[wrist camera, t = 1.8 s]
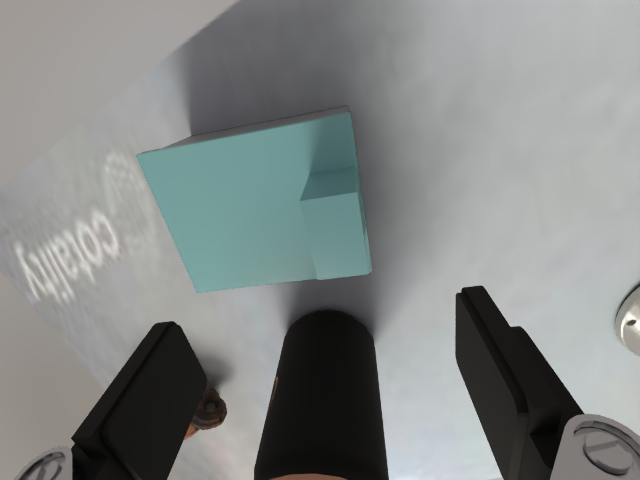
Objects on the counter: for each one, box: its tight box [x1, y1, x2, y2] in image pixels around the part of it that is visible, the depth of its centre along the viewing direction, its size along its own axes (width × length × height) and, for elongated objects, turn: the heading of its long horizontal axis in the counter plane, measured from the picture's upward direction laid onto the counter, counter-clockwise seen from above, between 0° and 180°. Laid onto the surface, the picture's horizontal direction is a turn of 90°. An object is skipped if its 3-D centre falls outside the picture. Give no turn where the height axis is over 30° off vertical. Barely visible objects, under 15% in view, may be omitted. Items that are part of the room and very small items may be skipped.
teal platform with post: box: [136, 112, 372, 293], centre depth 22 cm, size 14×11×8 cm
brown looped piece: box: [184, 389, 227, 440], centre depth 42 cm, size 12×10×8 cm
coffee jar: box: [254, 310, 389, 480], centre depth 31 cm, size 11×11×18 cm
